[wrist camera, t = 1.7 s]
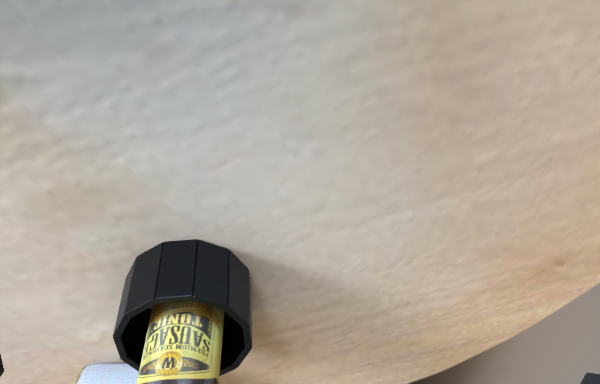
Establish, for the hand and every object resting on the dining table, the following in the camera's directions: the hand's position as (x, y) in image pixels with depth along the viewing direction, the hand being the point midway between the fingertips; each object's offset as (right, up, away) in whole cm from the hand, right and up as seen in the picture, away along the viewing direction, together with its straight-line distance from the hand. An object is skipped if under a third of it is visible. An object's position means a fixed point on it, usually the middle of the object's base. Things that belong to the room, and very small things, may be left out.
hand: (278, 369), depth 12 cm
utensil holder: (-10, -5, +39) cm, 40 cm away
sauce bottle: (-10, -4, +39) cm, 40 cm away
